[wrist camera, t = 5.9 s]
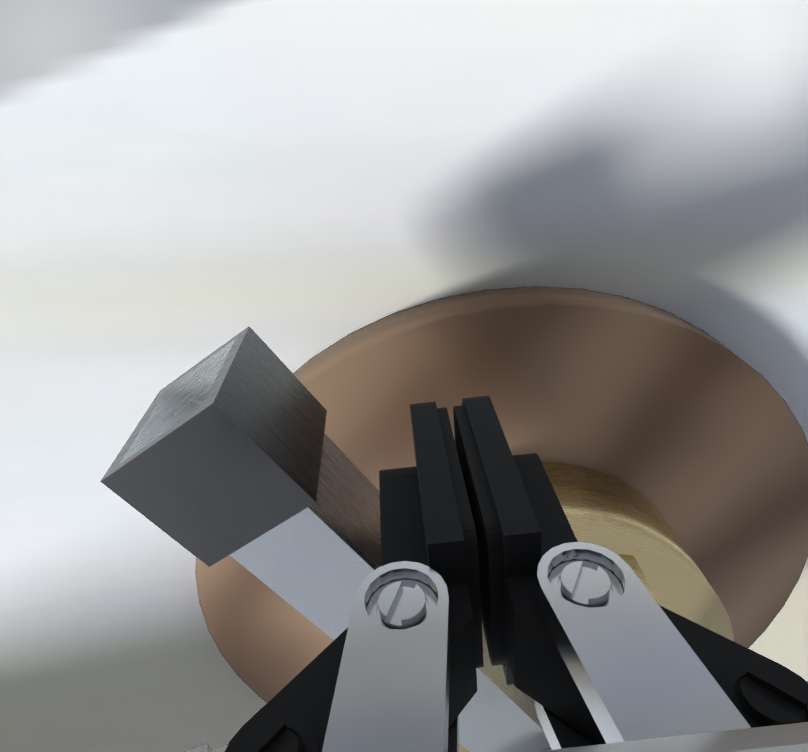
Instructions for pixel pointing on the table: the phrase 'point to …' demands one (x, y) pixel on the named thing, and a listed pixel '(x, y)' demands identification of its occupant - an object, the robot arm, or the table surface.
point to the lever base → (558, 441)
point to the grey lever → (348, 512)
